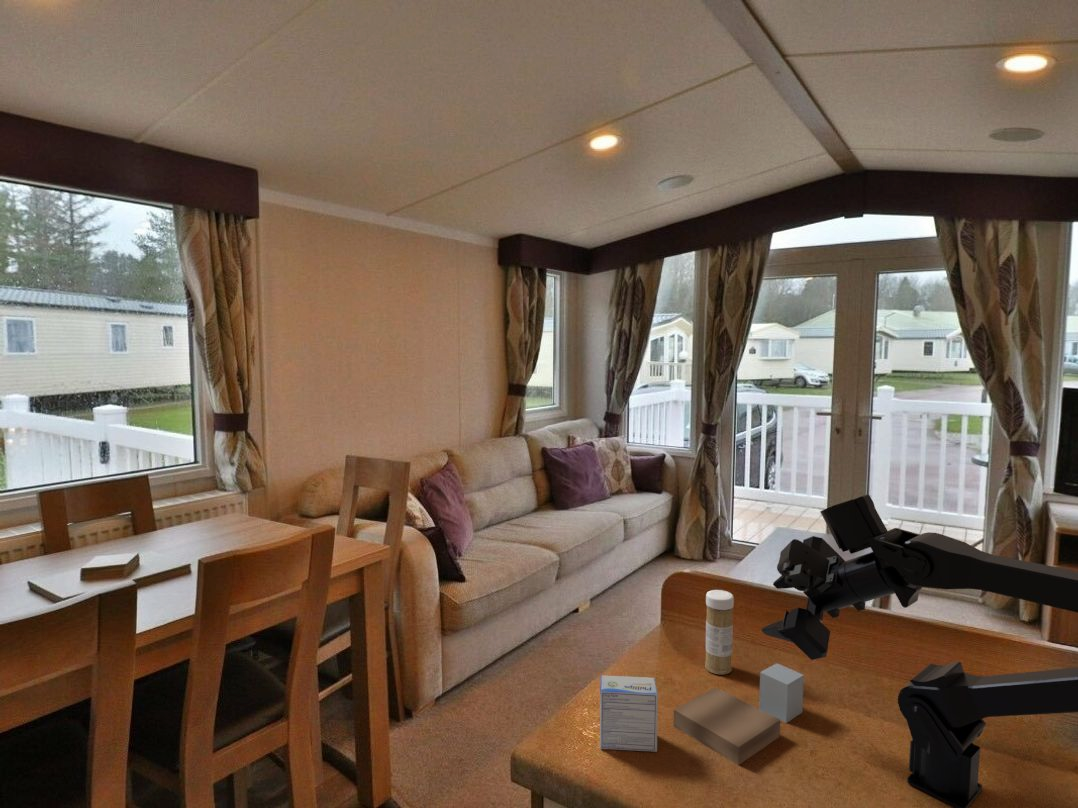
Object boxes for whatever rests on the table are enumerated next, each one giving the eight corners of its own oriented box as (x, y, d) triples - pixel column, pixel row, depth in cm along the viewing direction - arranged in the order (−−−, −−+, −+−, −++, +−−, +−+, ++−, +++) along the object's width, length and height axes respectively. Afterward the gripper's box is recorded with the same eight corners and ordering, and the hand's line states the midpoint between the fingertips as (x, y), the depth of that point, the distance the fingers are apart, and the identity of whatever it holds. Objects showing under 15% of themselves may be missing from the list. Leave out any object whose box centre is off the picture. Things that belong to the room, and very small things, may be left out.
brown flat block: (779, 739, 90) (780, 719, 89) (738, 768, 84) (738, 747, 83) (715, 705, 98) (715, 687, 98) (673, 729, 92) (673, 709, 92)
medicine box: (654, 734, 90) (655, 676, 90) (657, 754, 86) (658, 693, 85) (599, 731, 91) (600, 673, 90) (599, 750, 87) (600, 690, 86)
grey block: (802, 712, 96) (803, 674, 95) (786, 723, 93) (787, 684, 92) (775, 699, 99) (776, 663, 99) (759, 709, 96) (760, 672, 96)
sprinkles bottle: (723, 661, 111) (725, 587, 110) (736, 674, 107) (739, 597, 106) (699, 664, 110) (701, 590, 109) (712, 677, 106) (714, 600, 105)
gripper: (827, 496, 92) (746, 531, 103) (808, 592, 79) (718, 621, 90) (878, 547, 93) (793, 576, 104) (868, 650, 80) (771, 672, 91)
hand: (769, 608), depth 97 cm, fingers open, 9 cm apart
